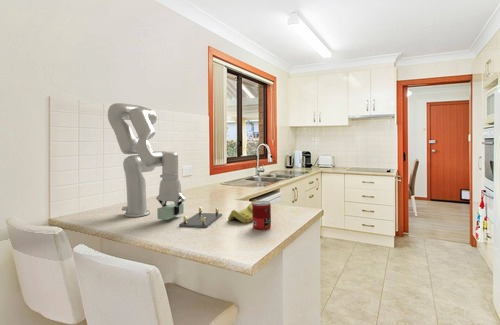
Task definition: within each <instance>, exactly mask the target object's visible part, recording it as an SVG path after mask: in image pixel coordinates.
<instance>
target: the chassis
mask: <svg viewBox="0 0 500 325" xmlns="http://www.w3.org/2000/svg"><path fill="white" fill-rule="evenodd" d="M222 216H223V213H219V208H218V207H217V208H215V212H214V213H213V212H211V213H210V212H203V209H202V207H199V208H198V213H195V214H194V215H192V216H191V217H189V218H187V216H186V215H185V216H183V222H181V223H179V224H178V226H179V227H180V228H181V227H182V228H200V229H201V228H203V229H205V228H209V226H211V225H212V224H213V223H215V222H216V221H217V220H218V219H219V218H221V217H222Z"/></svg>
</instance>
